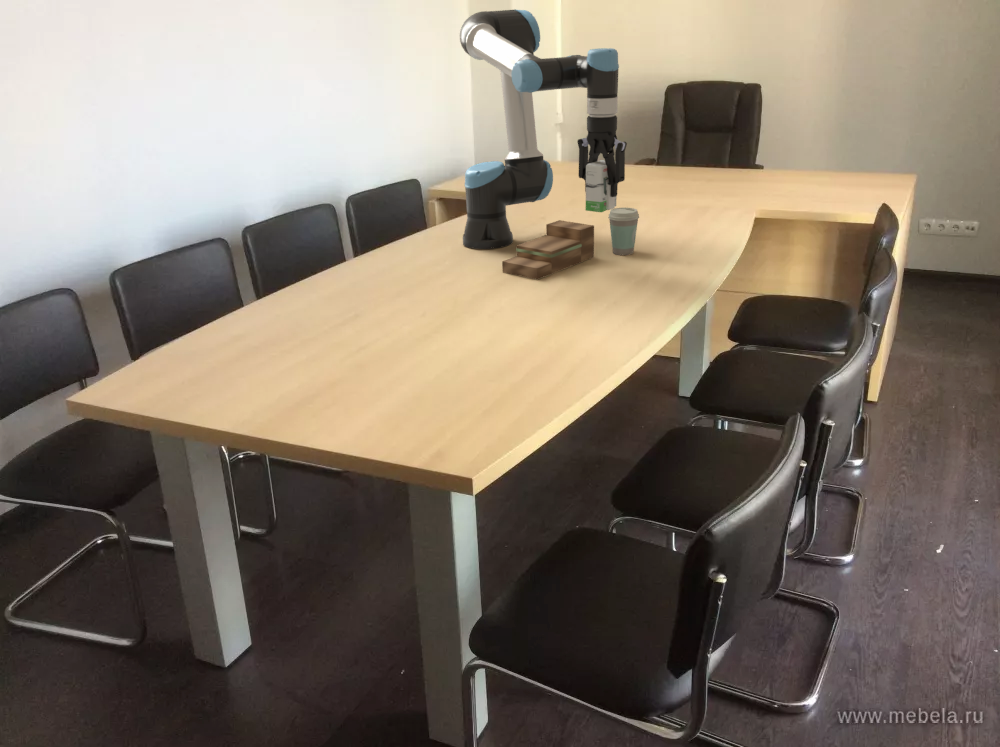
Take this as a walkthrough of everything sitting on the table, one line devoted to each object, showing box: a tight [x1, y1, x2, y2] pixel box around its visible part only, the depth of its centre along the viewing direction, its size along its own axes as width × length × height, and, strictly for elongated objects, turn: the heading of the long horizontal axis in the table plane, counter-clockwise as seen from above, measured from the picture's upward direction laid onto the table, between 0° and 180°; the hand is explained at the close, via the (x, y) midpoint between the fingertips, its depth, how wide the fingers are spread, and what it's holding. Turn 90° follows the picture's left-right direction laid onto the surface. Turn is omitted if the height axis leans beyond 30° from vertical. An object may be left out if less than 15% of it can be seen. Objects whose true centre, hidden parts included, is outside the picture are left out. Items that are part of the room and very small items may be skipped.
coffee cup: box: [608, 207, 640, 256], centre depth 236 cm, size 9×9×12 cm
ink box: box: [585, 159, 618, 213], centre depth 217 cm, size 9×5×12 cm, turn 144°
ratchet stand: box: [501, 220, 595, 280], centre depth 228 cm, size 12×25×9 cm, turn 138°
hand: (600, 207), depth 219 cm, fingers closed on ink box, 5 cm apart
